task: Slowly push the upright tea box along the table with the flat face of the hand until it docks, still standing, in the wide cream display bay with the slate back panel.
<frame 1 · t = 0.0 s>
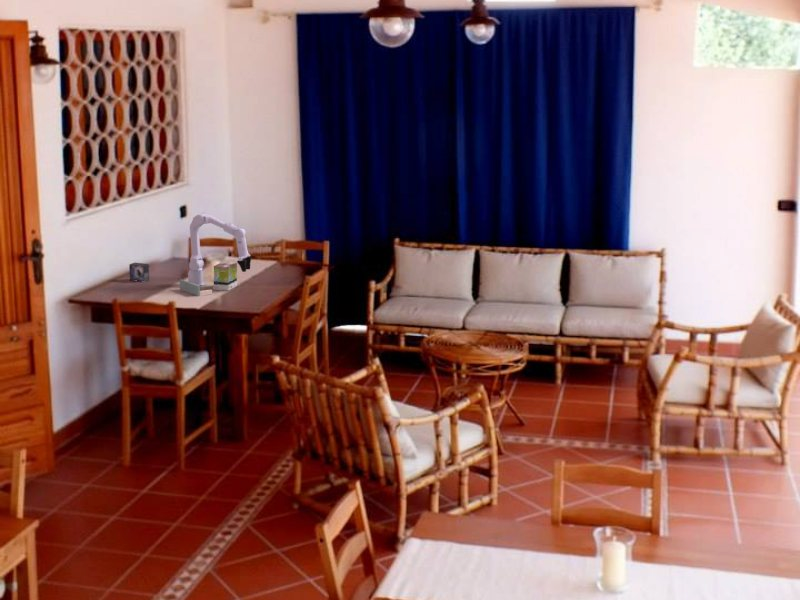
hand: (246, 270, 703), 11 cm above the table, tool pointing down, fingers open, 7 cm apart
tea box: (225, 288, 703), on the table
small box: (139, 280, 721), on the table
display bay: (199, 291, 693), on the table
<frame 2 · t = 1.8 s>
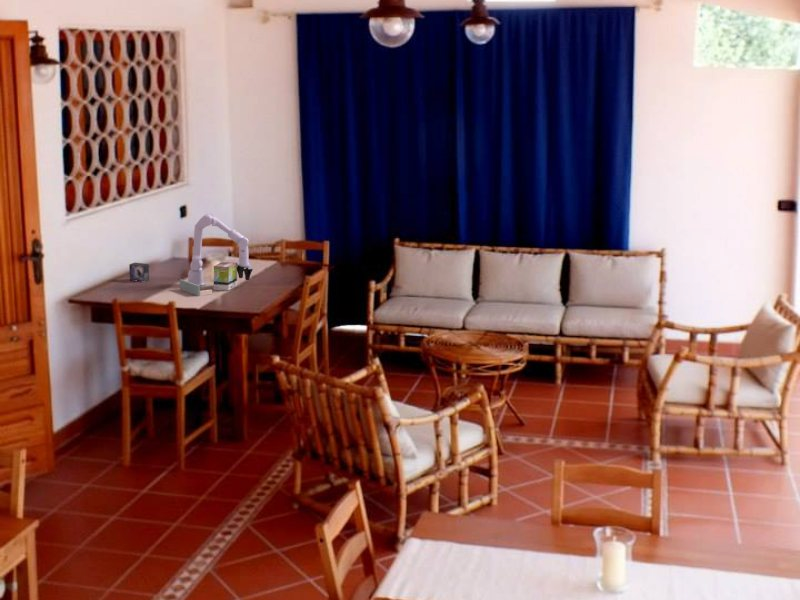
hand: (244, 279, 710), 4 cm above the table, tool pointing down, fingers open, 7 cm apart
nothing on the table moved.
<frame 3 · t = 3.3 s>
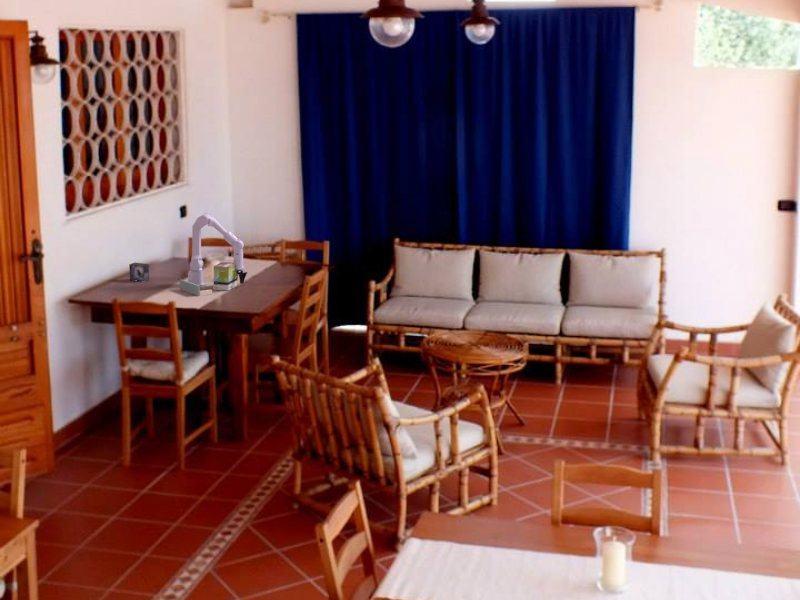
hand: (238, 282, 709), 2 cm above the table, tool pointing down, fingers open, 7 cm apart
tea box: (225, 288, 703), on the table, touching gripper
everything else where it was.
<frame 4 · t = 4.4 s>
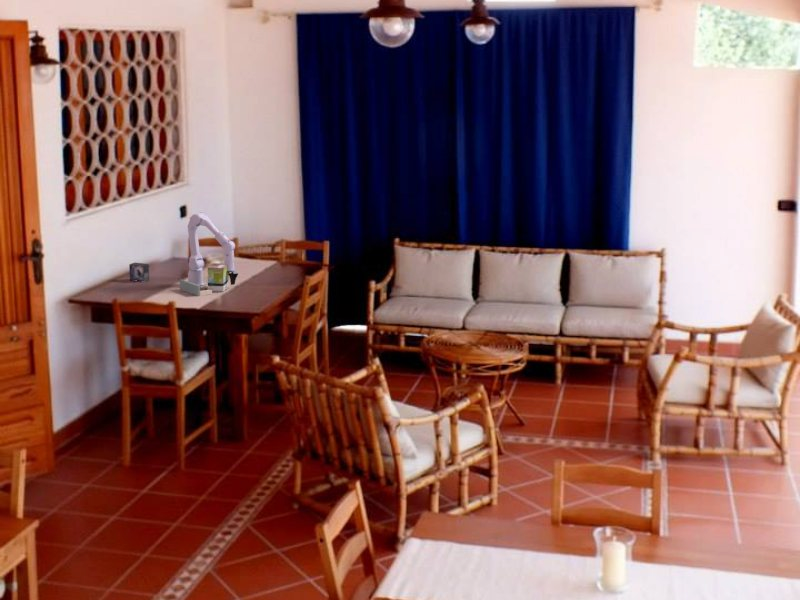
hand: (229, 283, 705), 2 cm above the table, tool pointing down, fingers open, 7 cm apart
tea box: (218, 289, 699), on the table, touching gripper
everything else where it was.
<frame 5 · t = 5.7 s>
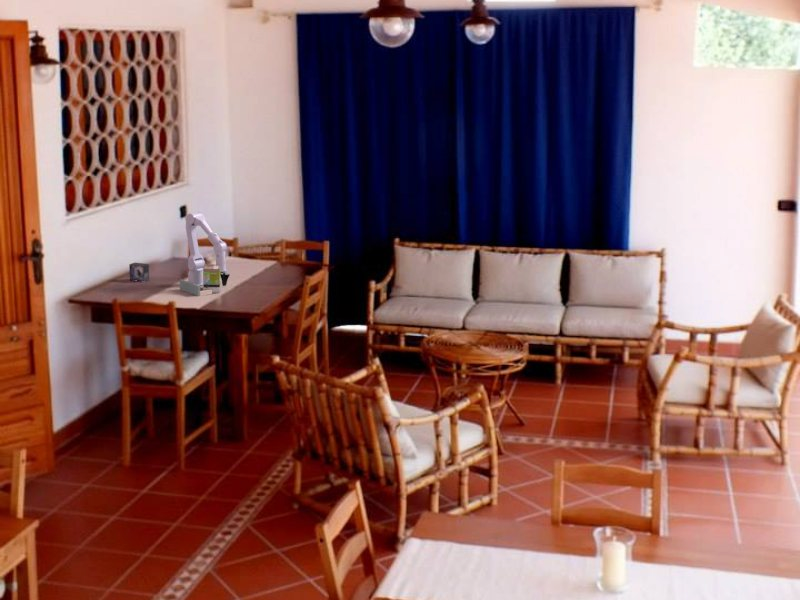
hand: (221, 284, 701), 2 cm above the table, tool pointing down
tea box: (212, 290, 695), on the table, touching gripper
everything else where it was.
when the fingers open (2 cm above the table, at t = 6.6 s): tea box stays where it is, on the table.
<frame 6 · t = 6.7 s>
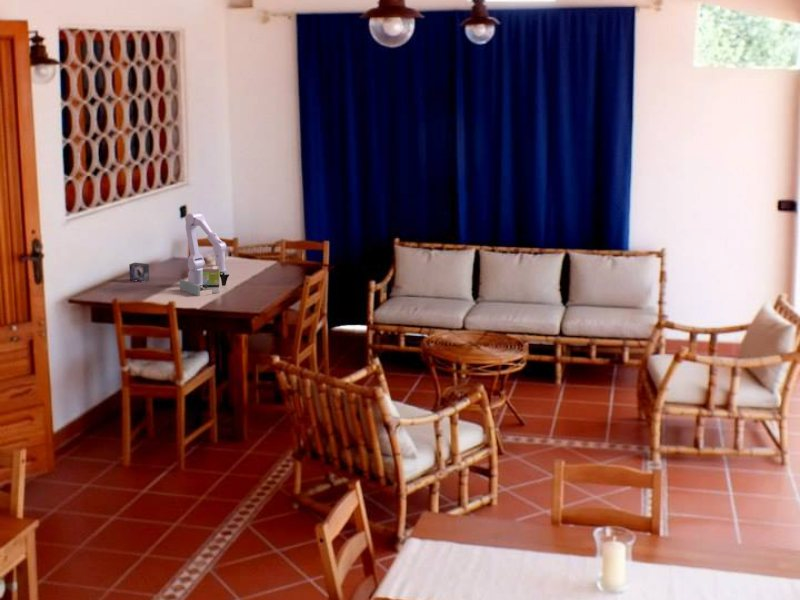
hand: (220, 284, 701), 2 cm above the table, tool pointing down, fingers open, 7 cm apart
tea box: (211, 291, 695), on the table
everything else where it was.
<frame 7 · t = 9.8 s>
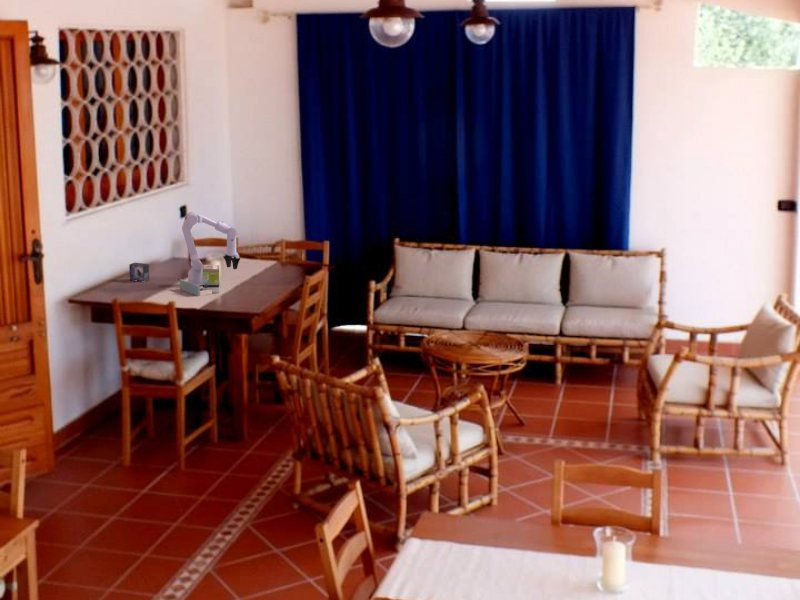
hand: (231, 268, 715), 9 cm above the table, tool pointing down, fingers open, 7 cm apart
nothing on the table moved.
at the end: tea box inside the target area (2.5 cm from its centre), on the table; tea box tilted 0° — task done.
